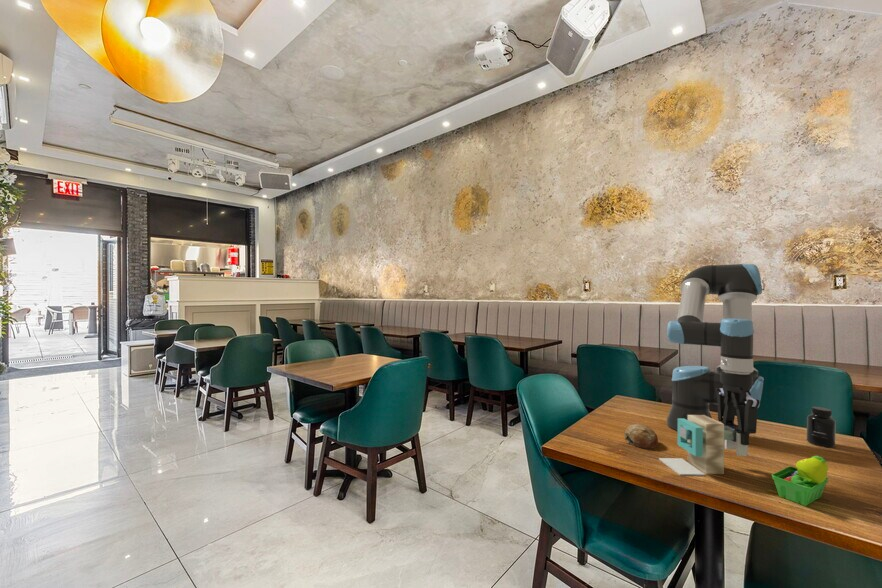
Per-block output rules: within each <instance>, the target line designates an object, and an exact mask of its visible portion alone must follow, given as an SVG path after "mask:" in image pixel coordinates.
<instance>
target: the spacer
mask: <svg viewBox="0 0 882 588" xmlns="http://www.w3.org/2000/svg"><path fill="white" fill-rule="evenodd" d="M680 426H683V427H685V428H687V429H689V430H691V431H692V444H690V443H688V442H687V440H686V439H684V438H682V437H681V436H680ZM676 439H677V446H679V447H680V448H682V449H683V450H685V451H686V452H687V451H688V452H689V453H691V454H693V455H694V456H703V428H702V427H700V426H698V425H696V424H694V423H692V422H690V421H688V420H686V419H684V418H678V431H677V438H676Z"/></svg>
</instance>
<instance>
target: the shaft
mask: <svg viewBox="0 0 882 588" xmlns="http://www.w3.org/2000/svg"><path fill="white" fill-rule="evenodd" d="M736 431H739V429H738V424H735V425H725V427H724V441H725V440H732V441H734V442H736ZM680 436H681V437H682V438H684V439H686V440H692V431H691V430H689V429H687V428H685V427H683V426H680Z"/></svg>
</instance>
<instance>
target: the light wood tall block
mask: <svg viewBox="0 0 882 588" xmlns="http://www.w3.org/2000/svg"><path fill="white" fill-rule="evenodd" d="M688 421H690V422H692V423H694V424H696V425H698V426H700V427H702V428H703V456H694V455H693V454H691V453H689V452H688V451H686V452H687V454H686V456H687V457H686V458H687V459H686V461H687V462H688V463H689V464H691V465H692V466H694V467H695V468H697V469H698V470H700V471H701V472H703V473H704V474H705V475H724V474H725V440H724V424H723V423H722V422H720V421H718V420H716V419H714V418H710V417H707V416H705V415H688ZM687 442H688V443H690V444H692V440H687Z"/></svg>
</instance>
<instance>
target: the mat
mask: <svg viewBox="0 0 882 588" xmlns="http://www.w3.org/2000/svg"><path fill="white" fill-rule="evenodd" d="M658 460H659V462H662V463H663V464H664V465H666V466H667V467H668V468H669V469H671V470H672V471H673V472H675V473H676V474H677V475H679V476H692V477H693V476H698V477H699V476H702V477H703V476H705V477H706V473H704V472H703V471H701V470H700V469H698V468H697V467H695V466H694V465H692V464H691V463H689V462H688V461H687V460H685V459H684V458H683V457H679V458H677V457H675V458H673V457H669V458H668V457H666V458H665V457H659V458H658Z"/></svg>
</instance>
